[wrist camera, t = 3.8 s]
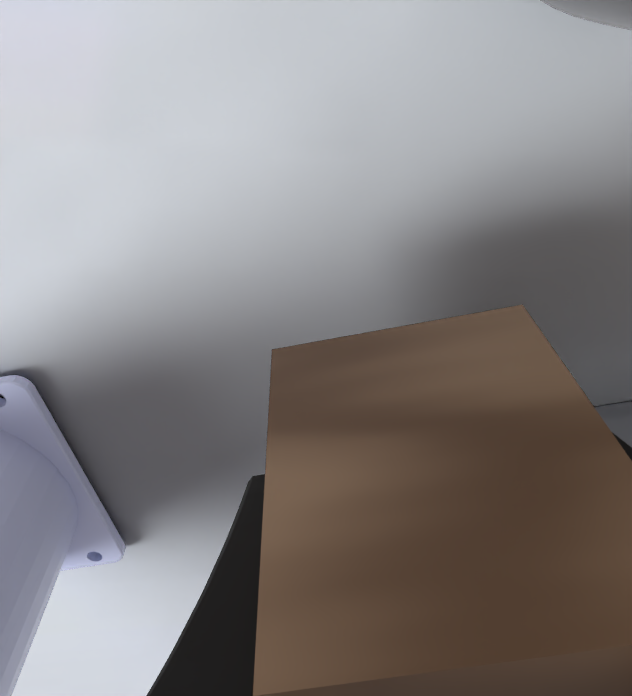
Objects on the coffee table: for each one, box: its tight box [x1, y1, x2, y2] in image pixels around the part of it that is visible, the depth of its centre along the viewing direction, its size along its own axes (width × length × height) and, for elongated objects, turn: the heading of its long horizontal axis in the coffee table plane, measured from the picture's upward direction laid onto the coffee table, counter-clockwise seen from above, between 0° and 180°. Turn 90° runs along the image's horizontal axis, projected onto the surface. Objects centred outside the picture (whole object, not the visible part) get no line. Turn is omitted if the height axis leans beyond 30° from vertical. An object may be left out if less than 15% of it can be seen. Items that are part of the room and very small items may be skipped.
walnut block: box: [253, 305, 632, 696], centre depth 9 cm, size 4×4×6 cm
